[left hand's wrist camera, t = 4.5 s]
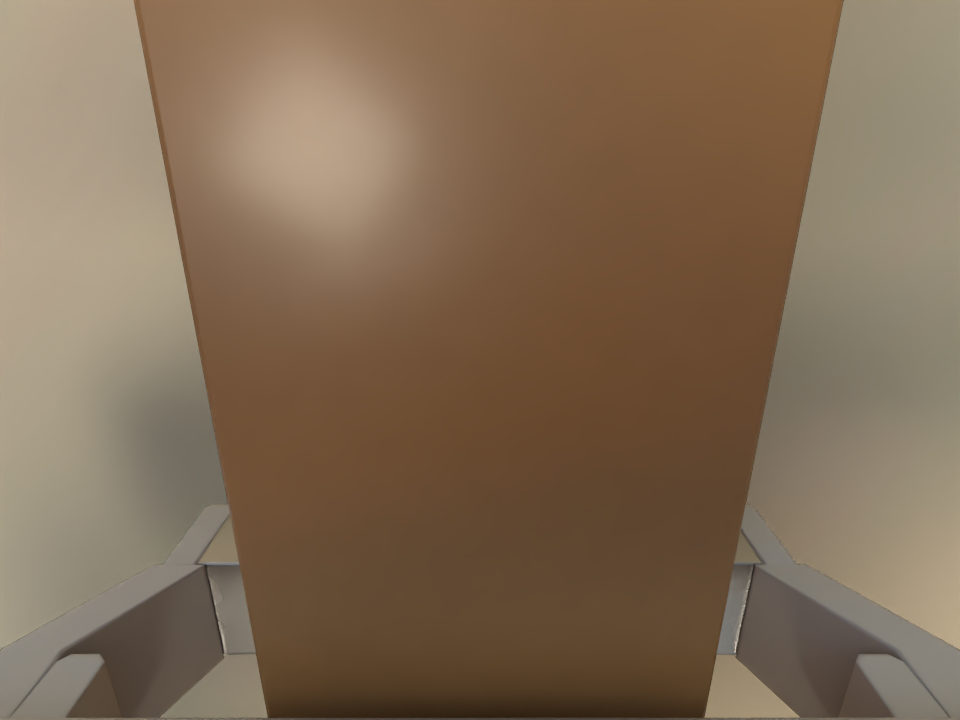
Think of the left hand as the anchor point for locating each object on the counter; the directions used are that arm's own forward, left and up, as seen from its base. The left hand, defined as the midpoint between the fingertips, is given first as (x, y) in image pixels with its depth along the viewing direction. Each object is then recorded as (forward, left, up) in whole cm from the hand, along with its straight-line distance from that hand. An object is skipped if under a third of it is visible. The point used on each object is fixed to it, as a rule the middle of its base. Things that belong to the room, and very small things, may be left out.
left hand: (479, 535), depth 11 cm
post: (+31, -14, -3) cm, 34 cm away
